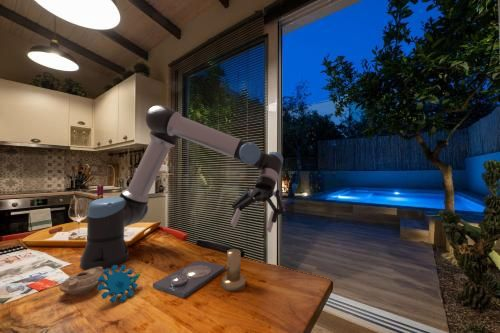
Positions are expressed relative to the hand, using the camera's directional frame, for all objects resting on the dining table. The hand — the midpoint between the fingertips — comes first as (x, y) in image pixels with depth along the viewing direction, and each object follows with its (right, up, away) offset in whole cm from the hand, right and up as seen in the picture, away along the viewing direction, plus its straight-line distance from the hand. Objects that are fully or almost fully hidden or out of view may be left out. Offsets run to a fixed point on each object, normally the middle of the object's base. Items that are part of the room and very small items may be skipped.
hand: (249, 227), depth 74 cm
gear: (-35, -14, -15) cm, 41 cm away
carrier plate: (-18, -15, -5) cm, 24 cm away
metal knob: (-5, -15, -9) cm, 18 cm away
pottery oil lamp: (-46, -14, -12) cm, 50 cm away
